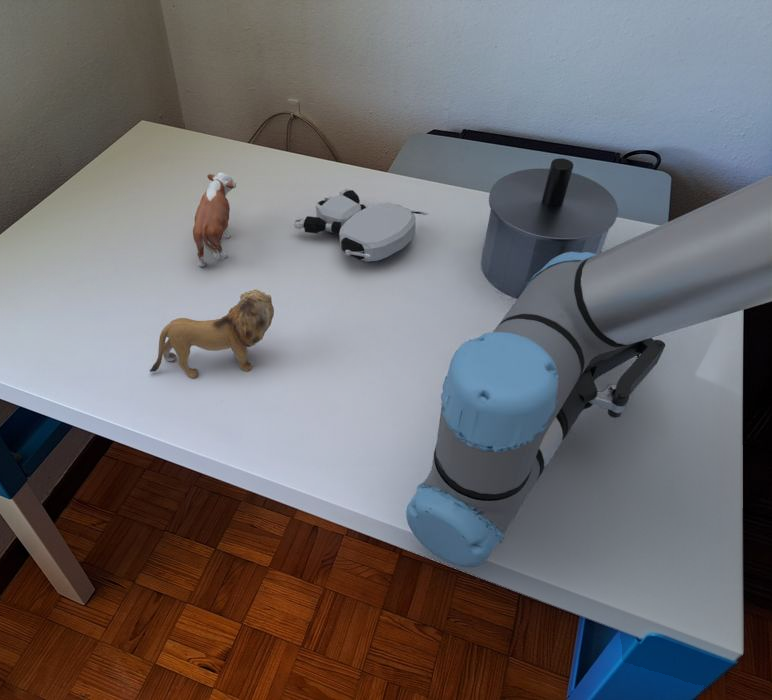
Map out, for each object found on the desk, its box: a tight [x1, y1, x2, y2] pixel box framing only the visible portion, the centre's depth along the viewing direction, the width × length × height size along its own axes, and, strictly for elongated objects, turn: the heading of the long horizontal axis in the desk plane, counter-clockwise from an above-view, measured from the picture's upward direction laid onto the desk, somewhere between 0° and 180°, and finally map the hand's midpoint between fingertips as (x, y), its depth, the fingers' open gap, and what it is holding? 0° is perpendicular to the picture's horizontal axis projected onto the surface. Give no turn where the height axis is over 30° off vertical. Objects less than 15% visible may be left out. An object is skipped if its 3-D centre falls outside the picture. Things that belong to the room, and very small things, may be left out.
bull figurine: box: [192, 171, 237, 268], centre depth 91 cm, size 4×13×8 cm, turn 170°
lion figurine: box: [149, 289, 275, 379], centre depth 75 cm, size 15×5×9 cm, turn 104°
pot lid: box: [488, 157, 619, 242], centre depth 79 cm, size 15×15×6 cm
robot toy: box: [293, 188, 430, 263], centre depth 92 cm, size 12×4×15 cm
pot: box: [480, 209, 609, 299], centre depth 84 cm, size 14×14×10 cm
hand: (617, 285), depth 75 cm, fingers open, 7 cm apart
